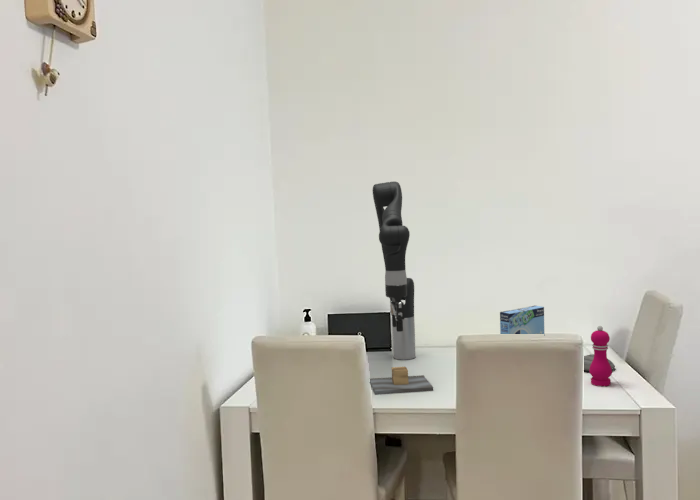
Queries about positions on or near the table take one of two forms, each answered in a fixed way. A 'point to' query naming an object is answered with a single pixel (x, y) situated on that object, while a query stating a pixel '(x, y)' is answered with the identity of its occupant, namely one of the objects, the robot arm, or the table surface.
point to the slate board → (388, 387)
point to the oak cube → (399, 375)
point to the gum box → (522, 321)
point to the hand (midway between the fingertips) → (397, 329)
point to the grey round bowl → (588, 361)
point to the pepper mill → (600, 359)
